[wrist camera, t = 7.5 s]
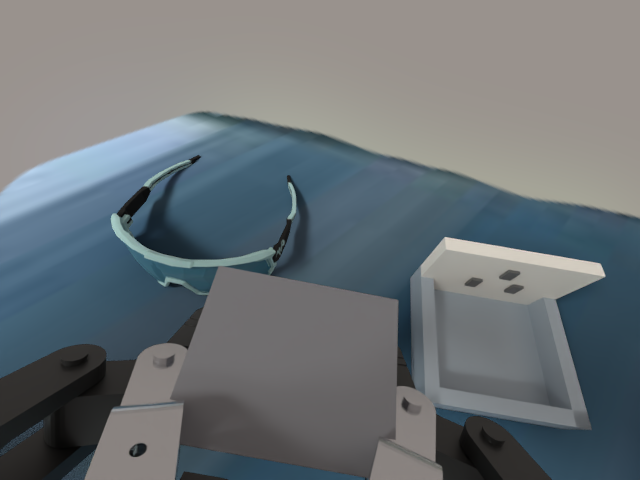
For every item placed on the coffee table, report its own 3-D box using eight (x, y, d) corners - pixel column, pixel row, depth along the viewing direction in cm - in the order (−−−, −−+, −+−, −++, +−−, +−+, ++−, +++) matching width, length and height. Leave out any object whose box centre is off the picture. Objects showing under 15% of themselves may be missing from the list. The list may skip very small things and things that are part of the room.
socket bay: (412, 403, 22) (458, 396, 16) (410, 277, 27) (445, 237, 21) (562, 429, 22) (665, 432, 16) (531, 298, 27) (600, 263, 21)
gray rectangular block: (223, 427, 14) (154, 439, 6) (247, 339, 16) (218, 265, 8) (330, 447, 14) (394, 482, 6) (340, 356, 16) (398, 299, 8)
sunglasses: (99, 278, 25) (66, 240, 21) (185, 168, 34) (173, 128, 30) (266, 318, 24) (264, 286, 20) (306, 196, 34) (310, 158, 30)
